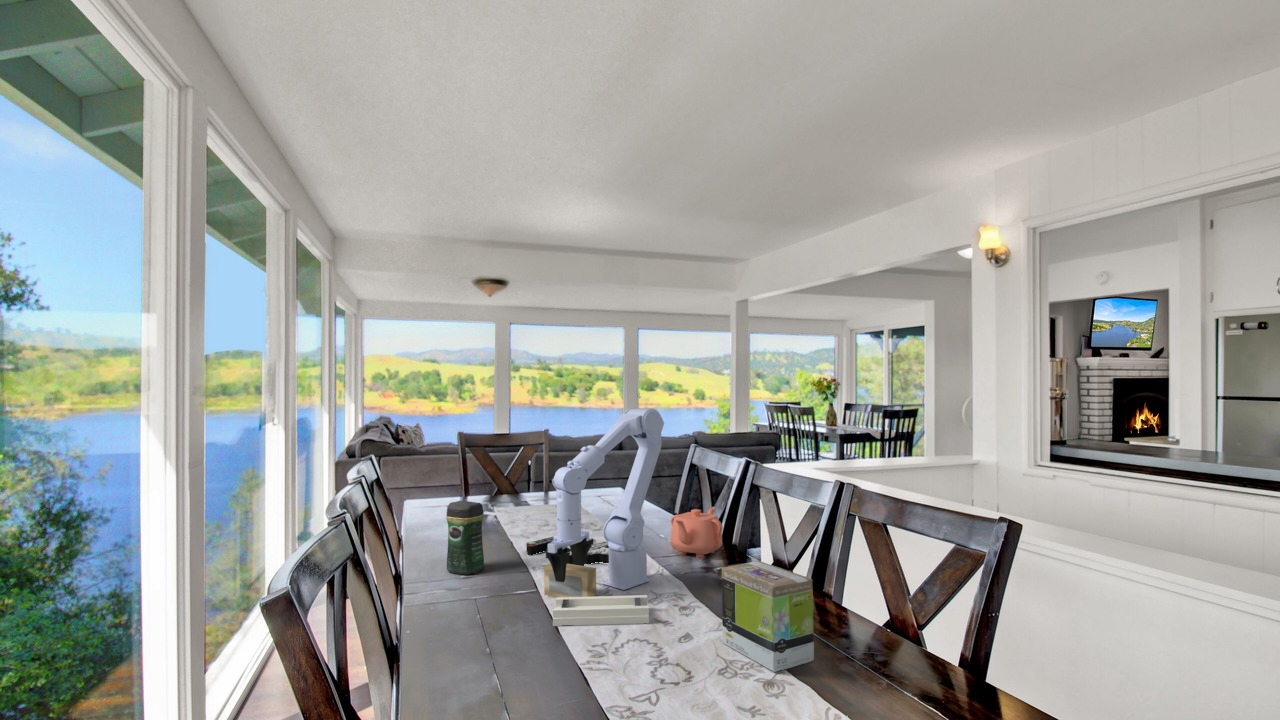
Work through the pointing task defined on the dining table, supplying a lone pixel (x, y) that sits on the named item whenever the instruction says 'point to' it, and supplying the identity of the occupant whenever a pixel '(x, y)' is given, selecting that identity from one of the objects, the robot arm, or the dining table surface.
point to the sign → (594, 554)
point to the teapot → (696, 533)
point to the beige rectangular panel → (571, 582)
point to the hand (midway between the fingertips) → (569, 576)
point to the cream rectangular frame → (601, 610)
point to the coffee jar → (465, 537)
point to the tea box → (768, 614)
